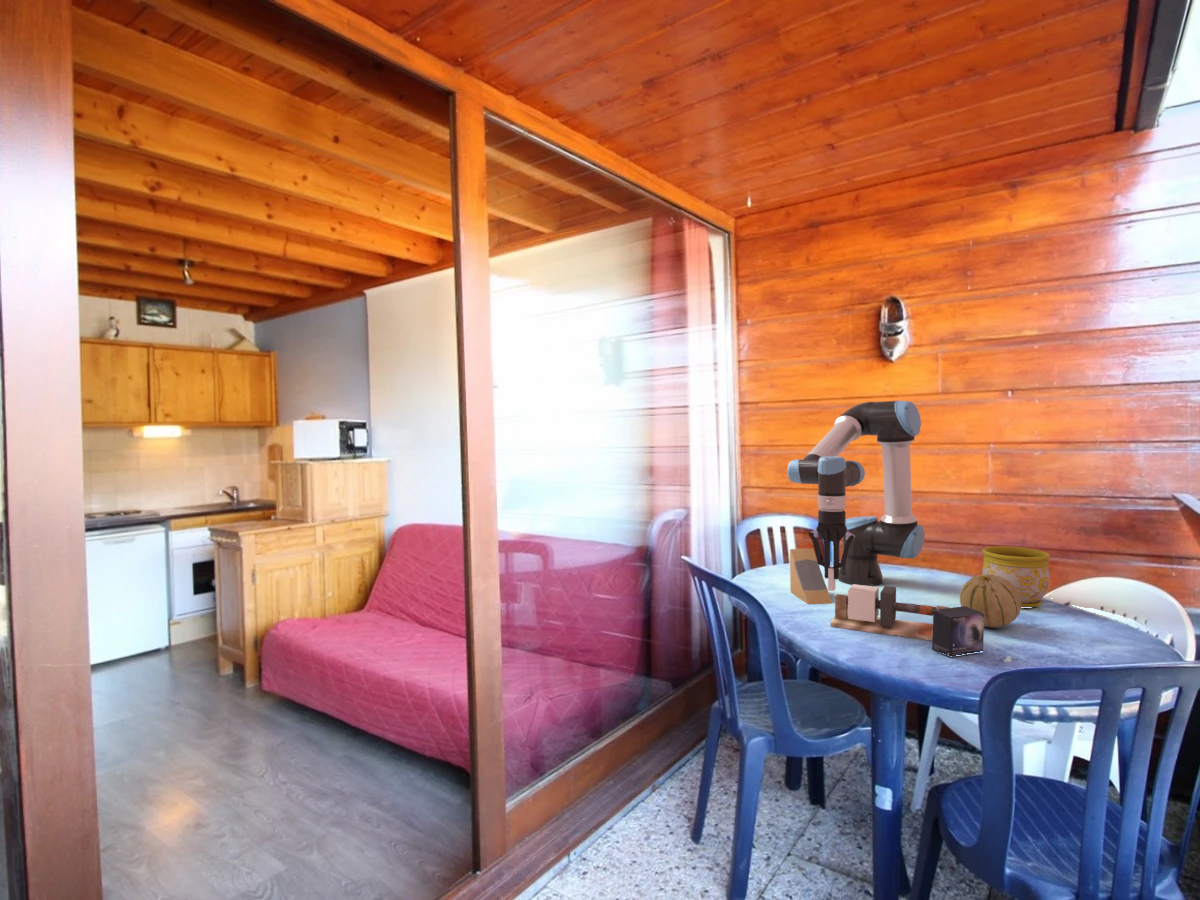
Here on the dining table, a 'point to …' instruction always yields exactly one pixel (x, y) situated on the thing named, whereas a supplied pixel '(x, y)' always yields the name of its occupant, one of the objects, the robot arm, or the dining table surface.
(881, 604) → the ring
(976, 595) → the cantaloupe
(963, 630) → the small box
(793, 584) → the sandwich container
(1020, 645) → the dining table surface
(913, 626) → the rail
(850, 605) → the sleeve
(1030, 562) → the flowerpot
